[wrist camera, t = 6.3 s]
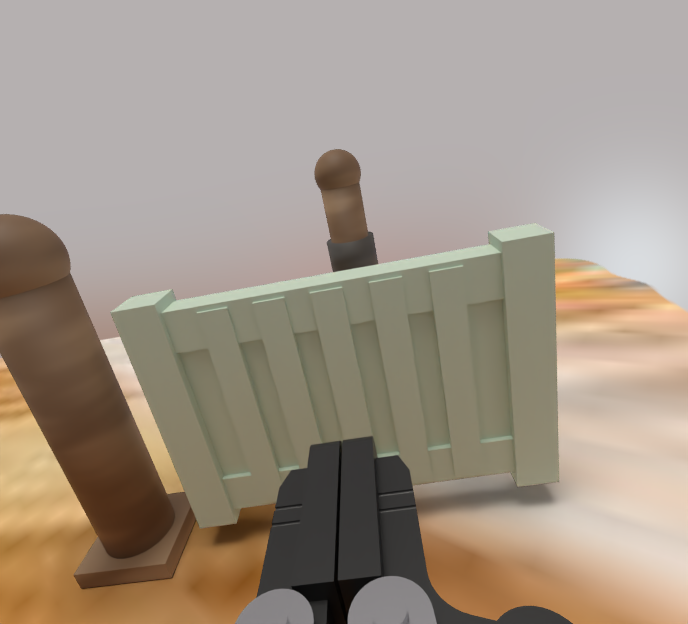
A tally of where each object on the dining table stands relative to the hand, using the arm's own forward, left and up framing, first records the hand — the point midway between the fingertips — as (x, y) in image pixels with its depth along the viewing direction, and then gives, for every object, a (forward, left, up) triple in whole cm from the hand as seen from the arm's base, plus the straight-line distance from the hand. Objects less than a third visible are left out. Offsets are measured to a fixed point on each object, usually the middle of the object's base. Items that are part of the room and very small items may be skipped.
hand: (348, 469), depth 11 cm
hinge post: (-11, +6, -8) cm, 15 cm away
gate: (0, +6, -7) cm, 9 cm away
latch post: (0, +20, -8) cm, 21 cm away
